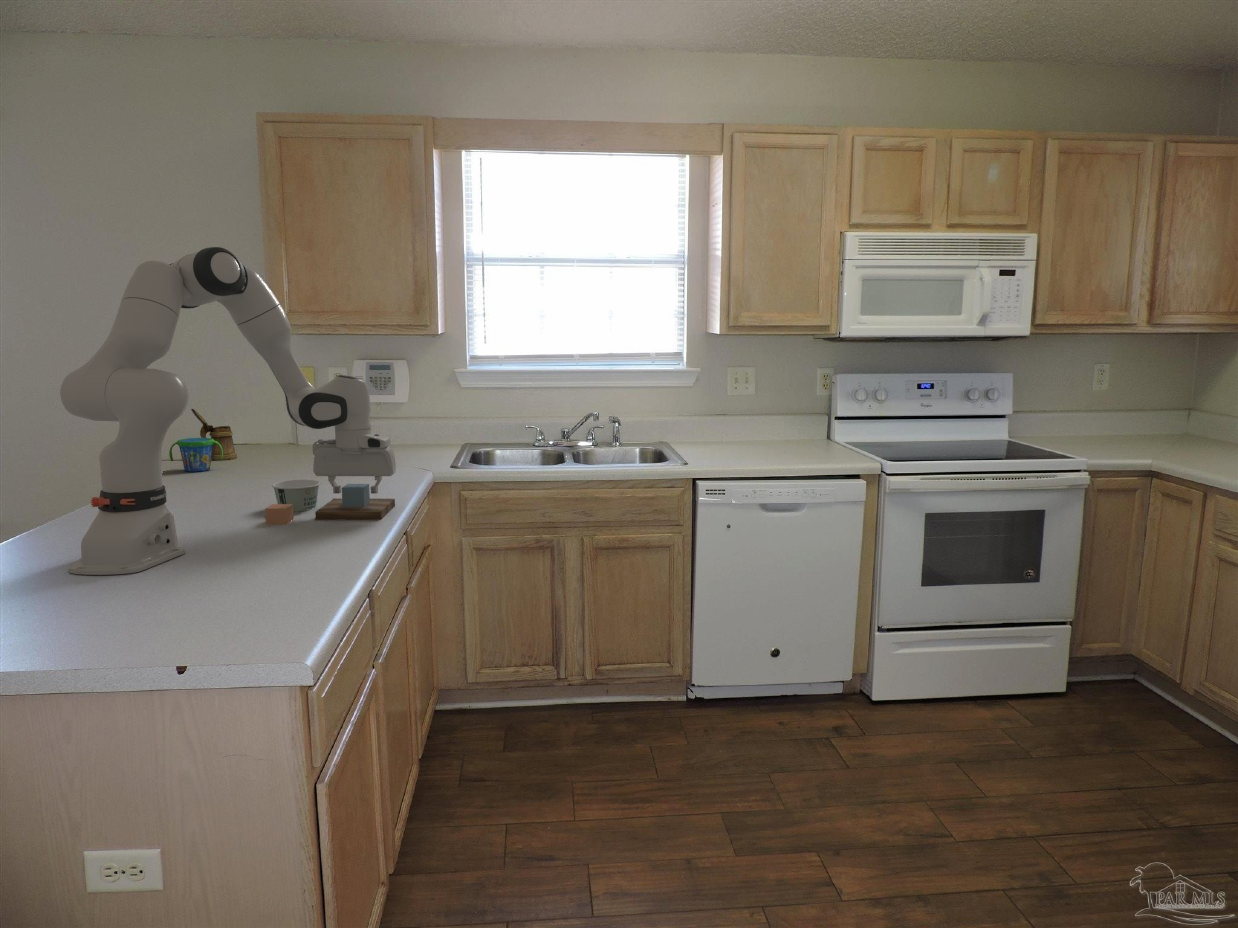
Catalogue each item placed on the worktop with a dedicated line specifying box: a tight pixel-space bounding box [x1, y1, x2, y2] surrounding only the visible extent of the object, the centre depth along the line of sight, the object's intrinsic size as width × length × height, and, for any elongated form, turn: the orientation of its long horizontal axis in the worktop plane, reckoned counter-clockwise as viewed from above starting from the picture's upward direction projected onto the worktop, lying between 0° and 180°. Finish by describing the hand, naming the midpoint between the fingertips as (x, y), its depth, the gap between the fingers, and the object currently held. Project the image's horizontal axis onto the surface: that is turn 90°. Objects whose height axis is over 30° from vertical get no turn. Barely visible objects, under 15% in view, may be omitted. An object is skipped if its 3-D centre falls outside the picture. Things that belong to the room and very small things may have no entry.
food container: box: [271, 478, 321, 512], centre depth 229 cm, size 12×12×6 cm
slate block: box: [341, 483, 371, 507], centre depth 223 cm, size 6×6×5 cm
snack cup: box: [168, 437, 223, 473], centre depth 282 cm, size 16×10×10 cm
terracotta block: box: [264, 503, 295, 525], centre depth 213 cm, size 5×5×4 cm
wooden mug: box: [191, 408, 238, 461], centre depth 304 cm, size 9×14×18 cm, turn 111°
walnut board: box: [314, 498, 396, 521], centre depth 224 cm, size 16×16×2 cm
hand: (355, 493), depth 223 cm, fingers open, 8 cm apart
